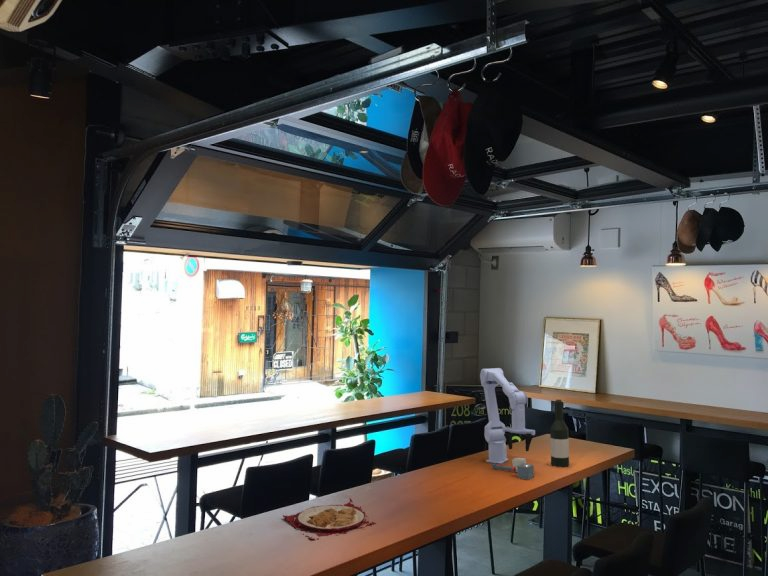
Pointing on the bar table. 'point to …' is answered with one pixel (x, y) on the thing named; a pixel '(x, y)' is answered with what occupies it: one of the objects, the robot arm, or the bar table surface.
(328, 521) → the plate with food
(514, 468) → the plunger
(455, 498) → the bar table surface
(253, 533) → the bar table surface
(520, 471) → the gauge cabinet
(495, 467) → the rail
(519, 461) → the carriage
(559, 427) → the wine bottle
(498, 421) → the robot arm
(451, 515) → the bar table surface
